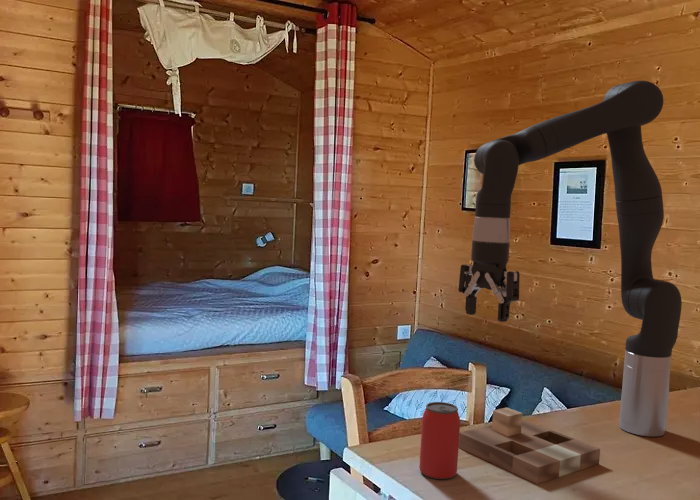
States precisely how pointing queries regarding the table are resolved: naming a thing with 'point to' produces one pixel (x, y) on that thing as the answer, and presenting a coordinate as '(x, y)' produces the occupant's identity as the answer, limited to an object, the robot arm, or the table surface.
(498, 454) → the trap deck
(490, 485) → the table surface
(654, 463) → the table surface
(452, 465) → the beer can
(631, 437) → the table surface
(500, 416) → the maple block
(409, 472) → the table surface
